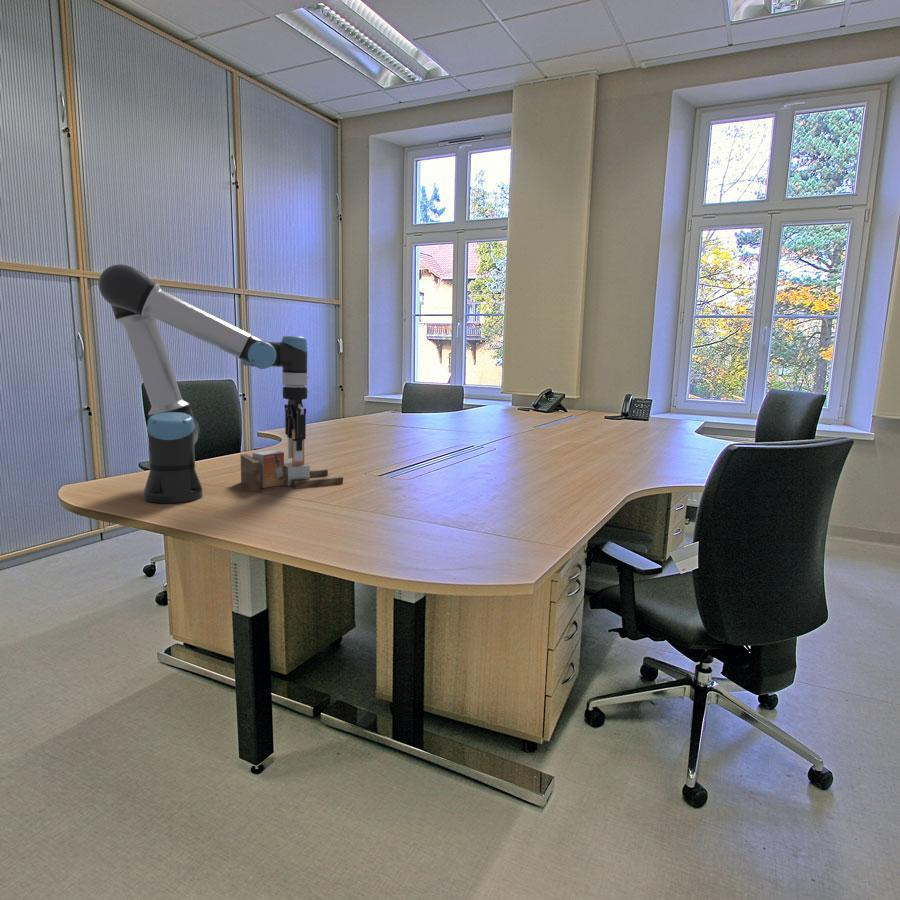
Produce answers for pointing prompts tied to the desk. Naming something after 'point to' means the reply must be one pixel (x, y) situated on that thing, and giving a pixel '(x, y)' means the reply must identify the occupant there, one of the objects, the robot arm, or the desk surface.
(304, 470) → the mallet
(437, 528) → the desk surface
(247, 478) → the frame
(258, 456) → the small box
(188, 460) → the robot arm
